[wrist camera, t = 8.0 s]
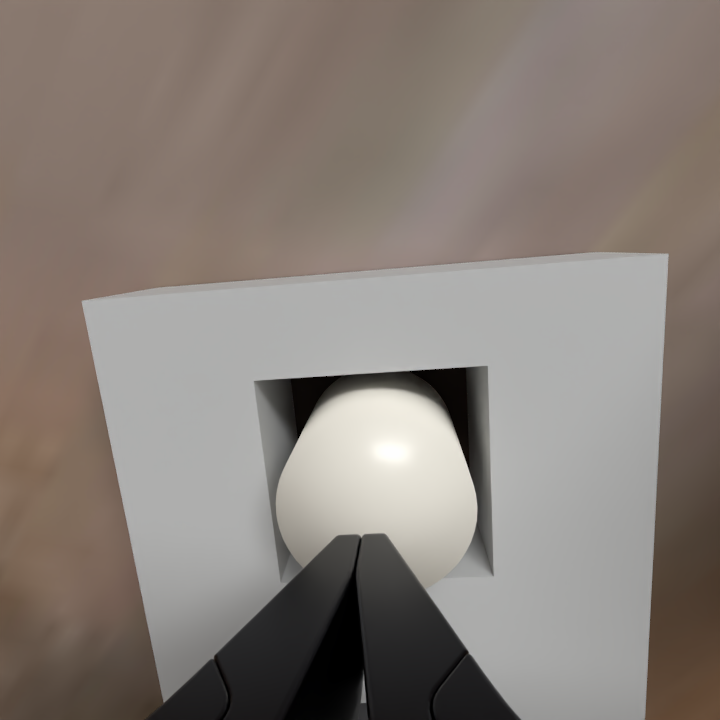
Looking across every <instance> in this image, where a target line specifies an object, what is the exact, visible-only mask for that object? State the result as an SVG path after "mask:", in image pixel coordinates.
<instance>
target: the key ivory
mask: <svg viewBox="0 0 720 720" xmlns="http://www.w3.org/2000/svg"><path fill="white" fill-rule="evenodd" d="M276 516H277V521H278V526H279V529H280V532H281V535H282V538H283V540H284V542H285V544H286V546H287V548H288V550H289V551H290V552H291V554H292V555H293V557H294V558H295V560H296V561H297V562H298V563H299V564H300V565H301V566H302V567H303V568H304V567H305V566H306V565H307V564H308V563H309V562H310V561H311V560H312V559H313V558H314V557H315V556H316V555H317V554H318V553H319V552H320V551H322V550H323V549H324V548H325V547H326V546H327V545H328V544H329V543H330V542H331V541H332V540H333V539H334V538H335V537H336V536H337V535H347V534H358V535H360V536H361V538H362V536H363V535H364V534H373V533H384V534H386V535H387V536H388V537H389V539H390V540H391V542H392V543H393V544H394V546H395V547H396V549H397V550H398V552H399V553H400V554H401V556H402V557H403V559H404V560H405V562H406V563H407V564H408V566H409V567H410V569H411V570H412V571H413V573H414V574H415V576H416V577H417V579H418V580H419V581H420V583H421V584H422V586H423V587H424V589H426V588H428V587H430V586H432V585H433V584H435V583H436V582H438V581H440V580H441V579H442V578H443V577H445V576H446V575H447V574H448V573H450V572H451V571H452V569H453V568H454V567H455V566H456V565H457V564H458V563H459V562H460V560H461V559H462V557H463V556H464V554H465V553H466V551H467V549H468V547H469V545H470V543H471V541H472V538H473V535H474V532H475V527H476V522H477V498H476V492H475V489H474V485H473V481H472V478H471V475H470V472H469V469H468V466H467V463H466V461H465V458H464V455H463V452H462V449H461V446H460V443H459V440H458V437H457V434H456V431H455V428H454V425H453V422H452V419H451V416H450V413H449V411H448V408H447V406H446V404H445V403H444V401H443V399H442V398H441V396H440V395H439V394H438V393H437V391H436V390H435V389H434V388H433V387H432V386H431V385H430V384H428V383H427V382H426V381H424V380H423V379H422V378H420V377H418V376H416V375H415V374H413V373H410V372H408V371H398V372H382V373H367V374H351V375H344V376H342V377H340V378H339V379H337V380H336V381H335V382H333V383H332V384H331V385H330V386H329V387H328V388H327V389H326V390H325V391H324V392H323V394H322V395H321V396H320V398H319V399H318V401H317V403H316V405H315V407H314V409H313V411H312V413H311V415H310V417H309V419H308V421H307V423H306V425H305V427H304V429H303V431H302V433H301V435H300V437H299V439H298V441H297V443H296V445H295V447H294V449H293V451H292V453H291V455H290V457H289V459H288V461H287V463H286V465H285V467H284V469H283V472H282V474H281V477H280V479H279V483H278V488H277V493H276Z"/></svg>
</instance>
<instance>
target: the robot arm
mask: <svg viewBox="0 0 720 720" xmlns="http://www.w3.org/2000/svg"><path fill="white" fill-rule="evenodd" d="M363 678H364V683H365V693H366V704H367V714H368V720H521V719H520V718H519V716H518V715H517V714H516V713H515V712H514V711H513V710H512V708H511V707H510V706H509V705H508V704H507V703H506V701H505V700H504V699H503V697H502V696H501V695H500V693H499V692H498V691H497V689H496V688H495V687H494V685H493V684H492V683H491V681H490V680H489V679H488V678H487V676H486V675H485V673H484V672H483V671H482V669H481V668H480V666H479V665H478V663H477V662H476V661H475V659H474V658H473V656H472V655H470V654H469V651H468V650H467V648H466V647H465V645H464V644H463V643H462V641H461V640H460V638H459V637H458V635H457V634H456V633H455V631H454V630H453V628H452V627H451V626H450V624H449V623H448V621H447V620H446V618H445V617H444V616H443V614H442V613H441V611H440V610H439V608H438V607H437V606H436V604H435V603H434V601H433V600H432V598H431V597H430V596H429V594H428V593H427V591H426V590H425V589H424V587H423V586H422V584H421V583H420V581H419V580H418V579H417V577H416V576H415V574H414V573H413V571H412V570H411V569H410V567H409V566H408V564H407V563H406V562H405V560H404V559H403V557H402V556H401V554H400V553H399V552H398V550H397V549H396V547H395V546H394V544H393V543H392V542H391V540H390V539H389V537H388V536H387V535H386V534H384V533H373V534H364V535H363V536H362V538H361V536H360V535H358V534H347V535H337V536H336V537H335V538H334V539H333V540H332V541H331V542H330V543H329V544H328V545H327V546H326V547H325V548H324V549H323V550H322V551H320V552H319V553H318V554H317V555H316V556H315V557H314V558H313V559H312V560H311V561H310V562H309V563H308V564H307V565H306V566H305V567H304V568H303V569H302V570H301V571H300V572H299V573H298V574H297V575H296V576H295V577H294V578H293V579H292V580H291V581H290V582H289V583H288V584H287V585H286V586H285V587H284V588H283V589H282V590H281V591H280V592H278V593H277V594H276V595H275V596H274V597H273V598H272V599H271V600H270V601H269V602H268V603H267V604H266V605H265V606H264V607H263V608H262V609H261V610H260V611H259V612H258V613H257V614H256V615H255V616H254V617H253V618H252V619H251V620H250V621H249V622H248V623H247V624H246V625H245V626H244V627H243V628H242V629H241V630H240V631H239V632H237V633H236V634H235V635H234V636H233V637H232V638H231V639H230V640H229V641H228V642H227V643H226V644H225V645H224V646H223V647H222V648H221V649H220V650H219V651H218V652H217V653H216V654H215V655H214V659H210V660H209V661H208V662H206V663H205V664H204V665H203V666H202V667H201V668H200V669H199V670H198V671H197V672H196V673H195V674H194V675H193V676H192V677H191V678H190V679H189V680H188V681H187V682H186V683H185V684H184V685H182V686H181V687H180V688H179V689H178V690H177V691H176V692H175V693H174V694H173V695H172V696H171V697H170V698H168V699H167V700H166V701H165V702H164V703H163V704H162V705H161V706H160V707H159V708H157V709H156V710H155V711H154V712H153V713H152V714H150V715H149V716H148V717H147V718H146V719H145V720H358V718H359V711H360V704H361V697H362V688H363Z"/></svg>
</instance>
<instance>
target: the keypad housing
mask: <svg viewBox="0 0 720 720" xmlns="http://www.w3.org/2000/svg"><path fill="white" fill-rule="evenodd" d="M667 273H668V254H654V253H614V252H591V253H579V254H567V255H555V256H542V257H530V258H518V259H505V260H493V261H481V262H468V263H456V264H444V265H432V266H419V267H407V268H395V269H382V270H370V271H358V272H346V273H333V274H321V275H309V276H296V277H284V278H272V279H259V280H247V281H235V282H223V283H210V284H198V285H186V286H173V287H161V288H153V289H148V290H142V291H136V292H130V293H124V294H119V295H113V296H107V297H101V298H95V299H90V300H84V301H82V305H83V310H84V315H85V320H86V325H87V329H88V334H89V339H90V344H91V349H92V354H93V359H94V364H95V369H96V374H97V378H98V383H99V388H100V393H101V398H102V403H103V408H104V413H105V418H106V423H107V428H108V432H109V437H110V442H111V447H112V452H113V457H114V462H115V467H116V472H117V477H118V481H119V486H120V491H121V496H122V501H123V506H124V511H125V516H126V521H127V526H128V530H129V535H130V540H131V545H132V550H133V555H134V560H135V565H136V570H137V575H138V579H139V584H140V589H141V594H142V599H143V604H144V609H145V614H146V619H147V624H148V628H149V633H150V638H151V643H152V648H153V653H154V658H155V663H156V668H157V673H158V678H159V682H160V687H161V692H162V697H163V702H165V701H166V700H167V699H168V698H170V697H171V696H172V695H173V694H174V693H175V692H176V691H177V690H178V689H179V688H180V687H181V686H182V685H184V684H185V683H186V682H187V681H188V680H189V679H190V678H191V677H192V676H193V675H194V674H195V673H196V672H197V671H198V670H199V669H200V668H201V667H202V666H203V665H204V664H205V663H206V662H208V661H209V660H210V659H214V655H215V654H216V653H217V652H218V651H219V650H220V649H221V648H222V647H223V646H224V645H225V644H226V643H227V642H228V641H229V640H230V639H231V638H232V637H233V636H234V635H235V634H236V633H237V632H239V631H240V630H241V629H242V628H243V627H244V626H245V625H246V624H247V623H248V622H249V621H250V620H251V619H252V618H253V617H254V616H255V615H256V614H257V613H258V612H259V611H260V610H261V609H262V608H263V607H264V606H265V605H266V604H267V603H268V602H269V601H270V600H271V599H272V598H273V597H274V596H275V595H276V594H277V593H278V592H280V591H281V590H282V589H283V588H284V587H285V586H286V585H287V584H288V583H289V582H290V581H291V580H292V579H293V578H294V577H295V576H296V575H297V574H298V573H299V572H300V571H301V570H302V569H303V567H302V566H301V565H300V564H299V563H298V562H297V561H296V560H295V558H294V557H293V555H292V554H291V552H290V551H289V550H288V548H287V546H286V544H285V542H284V540H283V538H282V535H281V532H280V529H279V526H278V521H277V516H276V493H277V488H278V483H279V479H280V477H281V474H282V472H283V469H284V467H285V465H286V463H287V461H288V459H289V457H290V455H291V453H292V451H293V449H294V447H295V445H296V443H297V441H298V436H297V428H296V419H295V410H294V402H293V393H292V385H291V378H304V377H320V376H336V375H351V374H367V373H382V372H398V371H414V370H429V369H445V368H460V367H466V388H467V414H468V441H469V467H470V475H471V478H472V481H473V485H474V489H475V492H476V498H477V522H476V527H475V532H474V535H473V538H472V541H471V543H470V545H469V547H468V549H467V551H466V553H465V554H464V556H463V557H462V559H461V560H460V562H459V563H458V564H457V565H456V566H455V567H454V568H453V569H452V571H451V572H450V573H448V574H447V575H446V576H445V577H443V578H442V579H441V580H440V581H438V582H436V583H435V584H433V585H432V586H430V587H428V588H426V589H425V590H426V591H427V593H428V594H429V596H430V597H431V598H432V600H433V601H434V603H435V604H436V606H437V607H438V608H439V610H440V611H441V613H442V614H443V616H444V617H445V618H446V620H447V621H448V623H449V624H450V626H451V627H452V628H453V630H454V631H455V633H456V634H457V635H458V637H459V638H460V640H461V641H462V643H463V644H464V645H465V647H466V648H467V650H468V651H469V654H470V655H472V656H473V658H474V659H475V661H476V662H477V663H478V665H479V666H480V668H481V669H482V671H483V672H484V673H485V675H486V676H487V678H488V679H489V680H490V681H491V683H492V684H493V685H494V687H495V688H496V689H497V691H498V692H499V693H500V695H501V696H502V697H503V699H504V700H505V701H506V703H507V704H508V705H509V706H510V707H511V708H512V710H513V711H514V712H515V713H516V714H517V715H518V716H519V718H520V719H521V720H645V708H646V688H647V668H648V648H649V629H650V609H651V589H652V569H653V550H654V530H655V510H656V490H657V471H658V451H659V431H660V411H661V391H662V372H663V352H664V332H665V312H666V293H667ZM361 703H366V693H365V683H364V678H363V688H362V697H361Z"/></svg>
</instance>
